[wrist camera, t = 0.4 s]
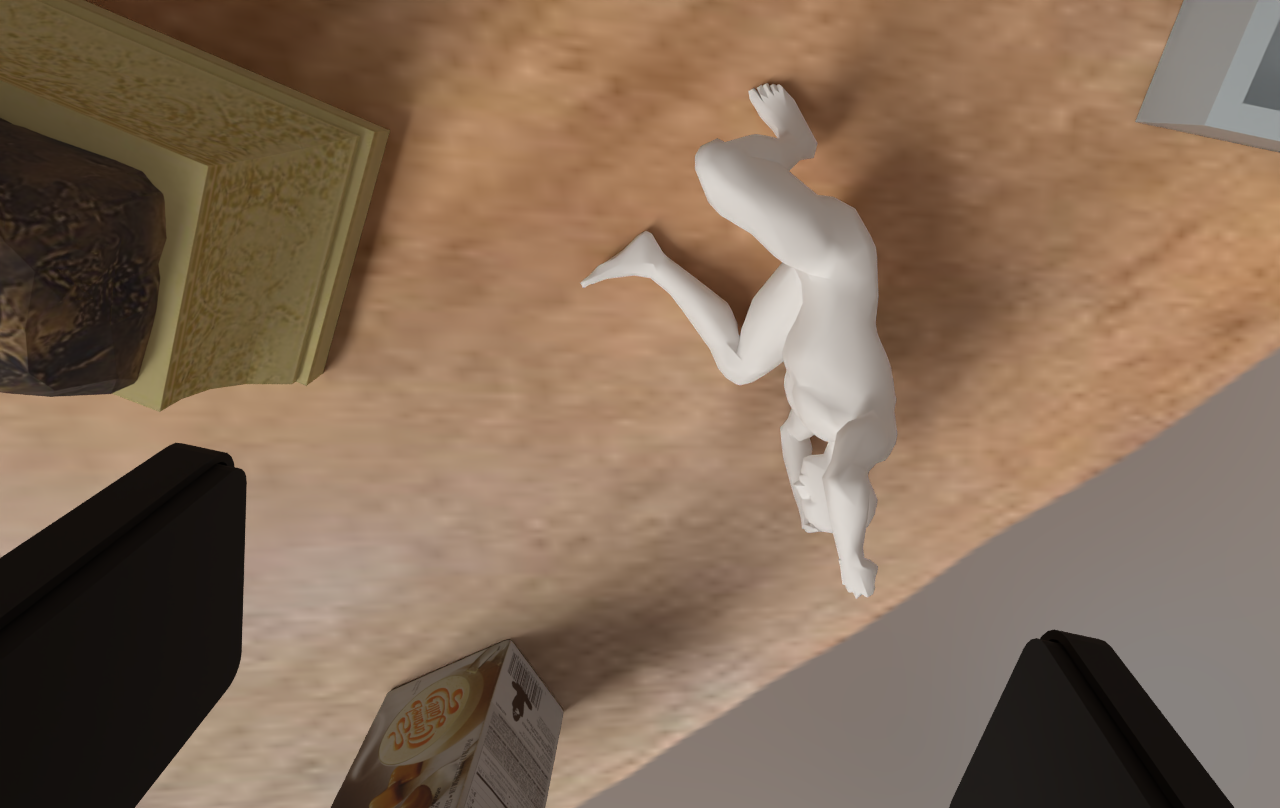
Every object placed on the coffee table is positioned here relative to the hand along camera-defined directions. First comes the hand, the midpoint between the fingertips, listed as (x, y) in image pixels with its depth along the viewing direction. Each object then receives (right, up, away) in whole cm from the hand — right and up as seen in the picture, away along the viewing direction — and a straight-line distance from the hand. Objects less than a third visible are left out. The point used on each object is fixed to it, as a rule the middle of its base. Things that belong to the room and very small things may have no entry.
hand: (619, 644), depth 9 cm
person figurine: (+7, +7, +30) cm, 31 cm away
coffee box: (-10, -15, +39) cm, 43 cm away
